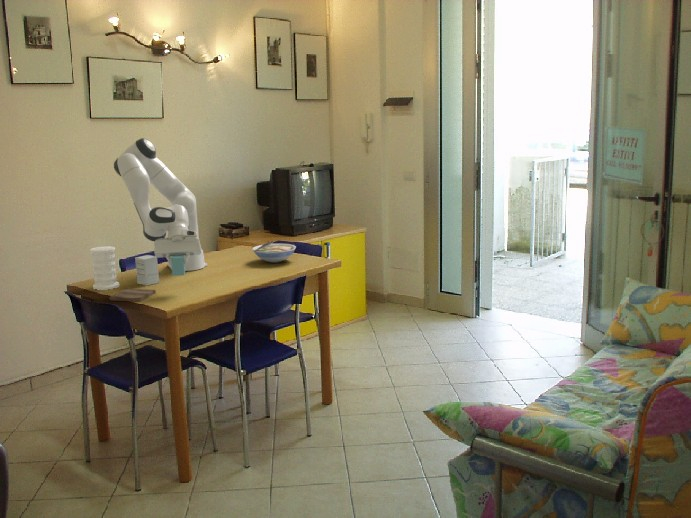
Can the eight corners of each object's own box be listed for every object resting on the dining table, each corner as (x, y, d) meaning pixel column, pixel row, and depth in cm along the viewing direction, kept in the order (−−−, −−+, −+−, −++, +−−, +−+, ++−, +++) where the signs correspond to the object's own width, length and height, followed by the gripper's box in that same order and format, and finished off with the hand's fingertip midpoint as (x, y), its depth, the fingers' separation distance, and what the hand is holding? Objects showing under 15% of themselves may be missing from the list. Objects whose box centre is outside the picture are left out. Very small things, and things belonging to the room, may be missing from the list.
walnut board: (126, 291, 310) (126, 288, 310) (155, 293, 307) (155, 289, 307) (109, 300, 297) (109, 296, 296) (139, 301, 294) (139, 298, 293)
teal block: (173, 273, 307) (172, 255, 306) (185, 272, 308) (183, 255, 306) (172, 275, 302) (171, 257, 301) (184, 275, 303) (182, 257, 301)
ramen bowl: (287, 267, 351) (286, 251, 349) (245, 265, 357) (244, 250, 355) (303, 257, 375) (302, 242, 373) (263, 255, 380) (262, 241, 379)
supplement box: (150, 280, 330) (148, 254, 328) (159, 282, 326) (157, 256, 323) (136, 283, 325) (134, 257, 322) (146, 285, 320) (143, 259, 317)
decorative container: (121, 283, 326) (117, 245, 322) (117, 289, 315) (113, 250, 311) (95, 284, 325) (91, 246, 321) (90, 290, 313) (86, 251, 310)
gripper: (153, 234, 307) (152, 261, 299) (200, 231, 309) (200, 257, 302) (155, 242, 312) (154, 268, 305) (202, 239, 314) (202, 265, 307)
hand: (177, 263), depth 303 cm, fingers closed on teal block, 5 cm apart
